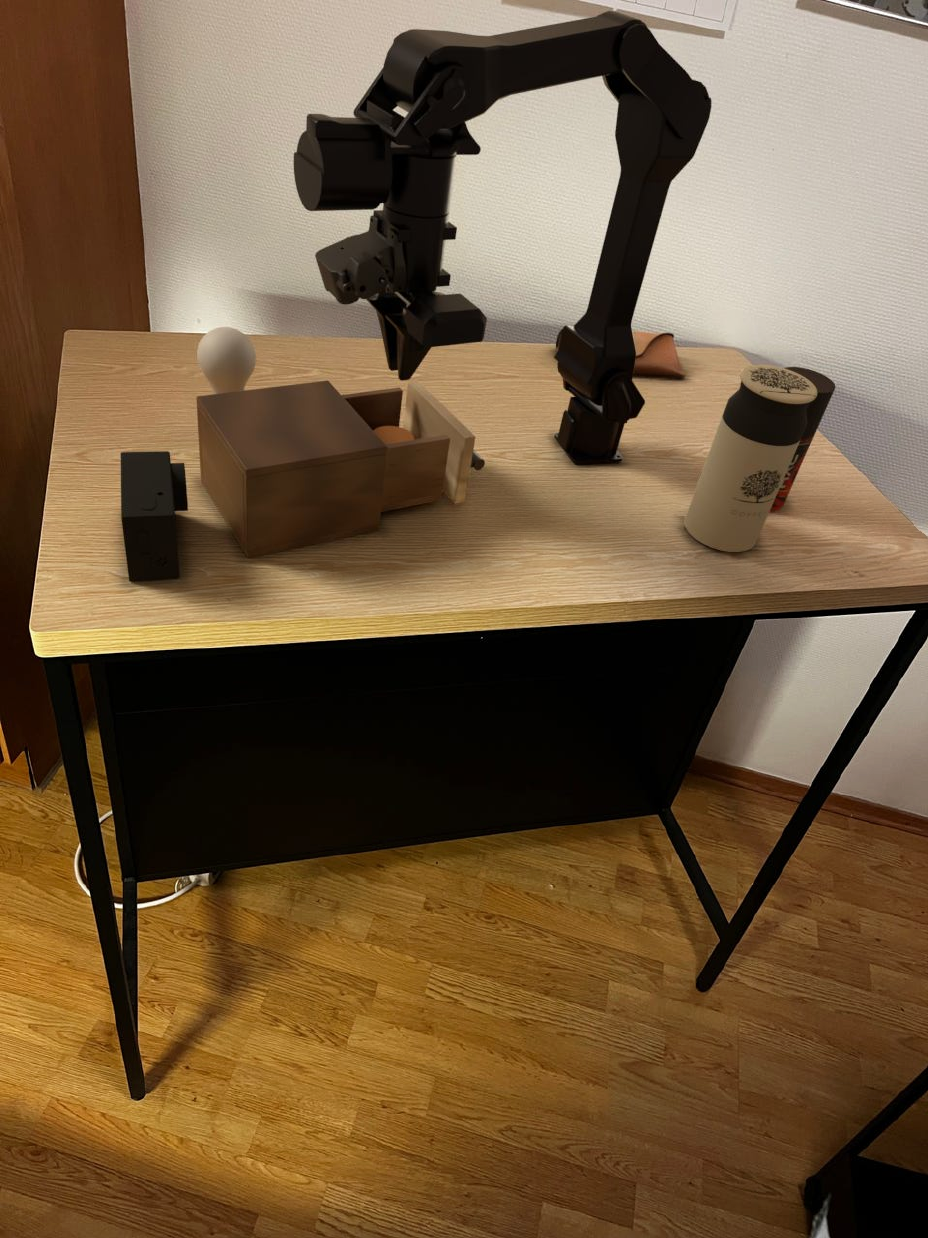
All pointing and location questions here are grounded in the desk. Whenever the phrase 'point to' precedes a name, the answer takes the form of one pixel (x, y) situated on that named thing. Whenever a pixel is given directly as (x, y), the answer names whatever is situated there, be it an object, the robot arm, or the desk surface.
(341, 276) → the robot arm
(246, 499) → the cabinet
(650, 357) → the sunglasses case
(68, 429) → the desk surface
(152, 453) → the digital camera
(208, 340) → the lightbulb
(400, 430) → the stacked orange cylinders
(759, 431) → the travel mug
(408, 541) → the desk surface
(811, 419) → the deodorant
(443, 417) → the drawer
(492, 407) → the desk surface
